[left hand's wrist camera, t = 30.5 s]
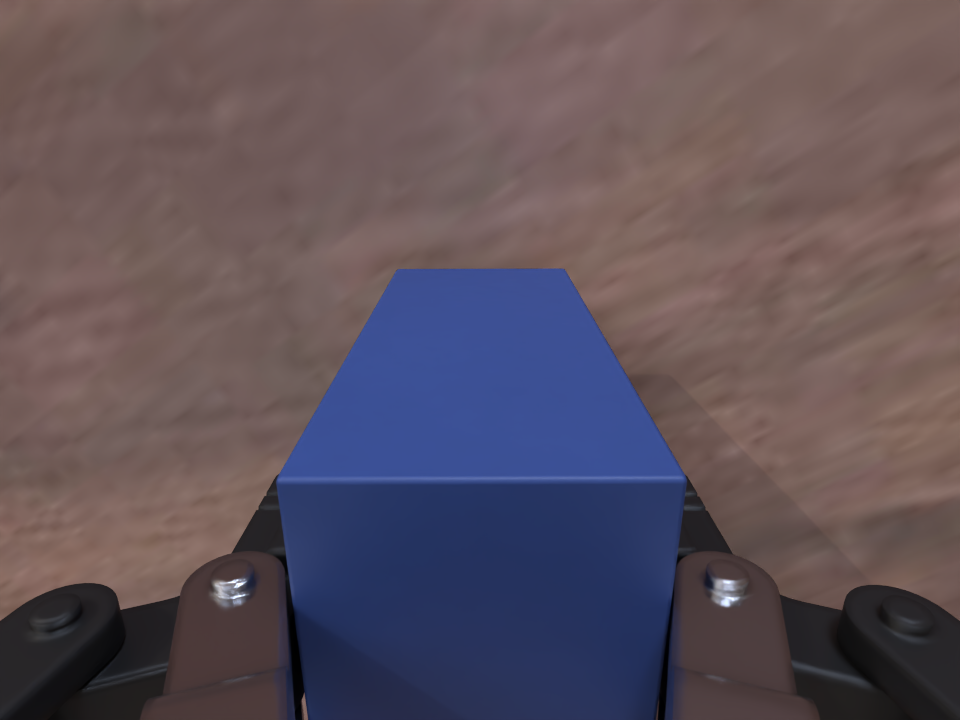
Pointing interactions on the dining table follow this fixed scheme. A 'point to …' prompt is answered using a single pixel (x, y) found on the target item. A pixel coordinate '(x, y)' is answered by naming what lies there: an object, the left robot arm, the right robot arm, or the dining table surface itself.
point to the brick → (481, 513)
